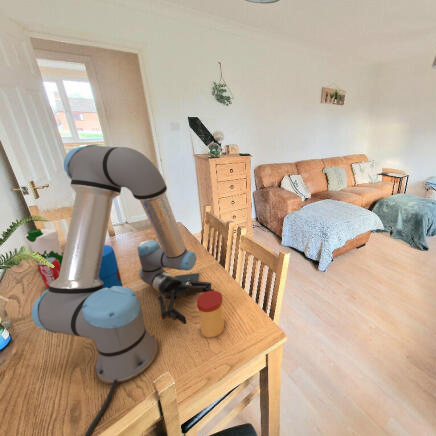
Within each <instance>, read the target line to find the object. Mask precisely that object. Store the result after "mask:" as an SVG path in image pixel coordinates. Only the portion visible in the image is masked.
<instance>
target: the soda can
mask: <svg viewBox="0 0 436 436" xmlns="http://www.w3.org/2000/svg"><path fill="white" fill-rule="evenodd" d="M46 260H47V261H48V262H50V263H51V264H53V265H54V266H55V267H54V268H51V267H48V266H47V265H44V264H41V263H39V262H38V263H37V270H38V271H39V272H38V273H39V274H40V276H41V279H42V281H43V283H44V285H45V288H46V289H49V285H50V283H51V282H53V281H54V280H56V279H57V278H58V277H59V274H60V269H61V266H60V263H59V261H58V260H57V259H56V258H53V257H51V258H46Z"/></svg>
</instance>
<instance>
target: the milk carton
mask: <svg viewBox="0 0 436 436" xmlns="http://www.w3.org/2000/svg"><path fill="white" fill-rule="evenodd" d="M58 233H59V231H58V229H47V228H42V229H40V228H34V229H30V230H27V234H25V235H23V238H24V240H25V241H26V242H27V244H28V245H29V247H30V249H31V252H33V251H34V252H39V255H41V256H42V257H44V258H45V259H46V258H51V257H53V258H56V259H57V260H58V261H59V263H60V266H61V264H62V259H63V255H64V250H63V248H62V245H61V243H60V239H59V235H58ZM36 264H38V261H36Z"/></svg>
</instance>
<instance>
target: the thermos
mask: <svg viewBox="0 0 436 436" xmlns="http://www.w3.org/2000/svg"><path fill="white" fill-rule="evenodd" d="M98 277H99V279H100V280H101V281H102V282H103V289H104V288H111V287H113V286H122V287H124V286H123V282H122V278H121V273H120V270H119V266H118V261H117V257H116V253H115V249H114V247H112V246H111V245H109V244H104V250H103V255H102V260H101V266H100V271H99V276H98Z"/></svg>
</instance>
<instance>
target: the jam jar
mask: <svg viewBox="0 0 436 436" xmlns="http://www.w3.org/2000/svg"><path fill="white" fill-rule="evenodd" d="M197 311H198V316H199V317H198V318H199V323H200V331H201V334H202V335H203V336H204V337H206V338H215V337H217V336H219V335H220V334H222V333H223V331H224V329H225V321H224V319H225V318H224V309H223V304H222V305H221V306H220V307H219V308H218V309H217V310H215V311H212V312H202V311H200V310H199V309H198V308H197Z"/></svg>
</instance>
